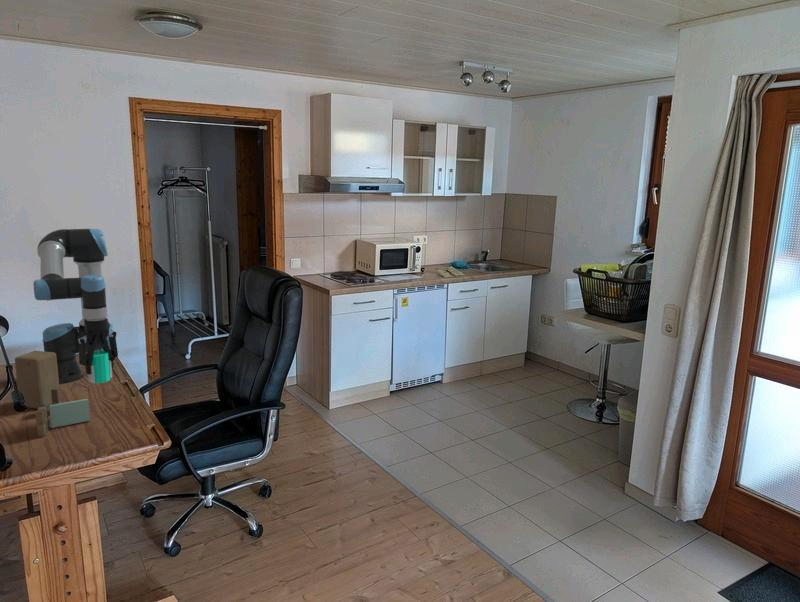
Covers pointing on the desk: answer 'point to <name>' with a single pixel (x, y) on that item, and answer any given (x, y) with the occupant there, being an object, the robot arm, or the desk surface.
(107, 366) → the candle
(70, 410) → the sage green plank
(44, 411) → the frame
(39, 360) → the wooden block
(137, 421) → the desk surface
